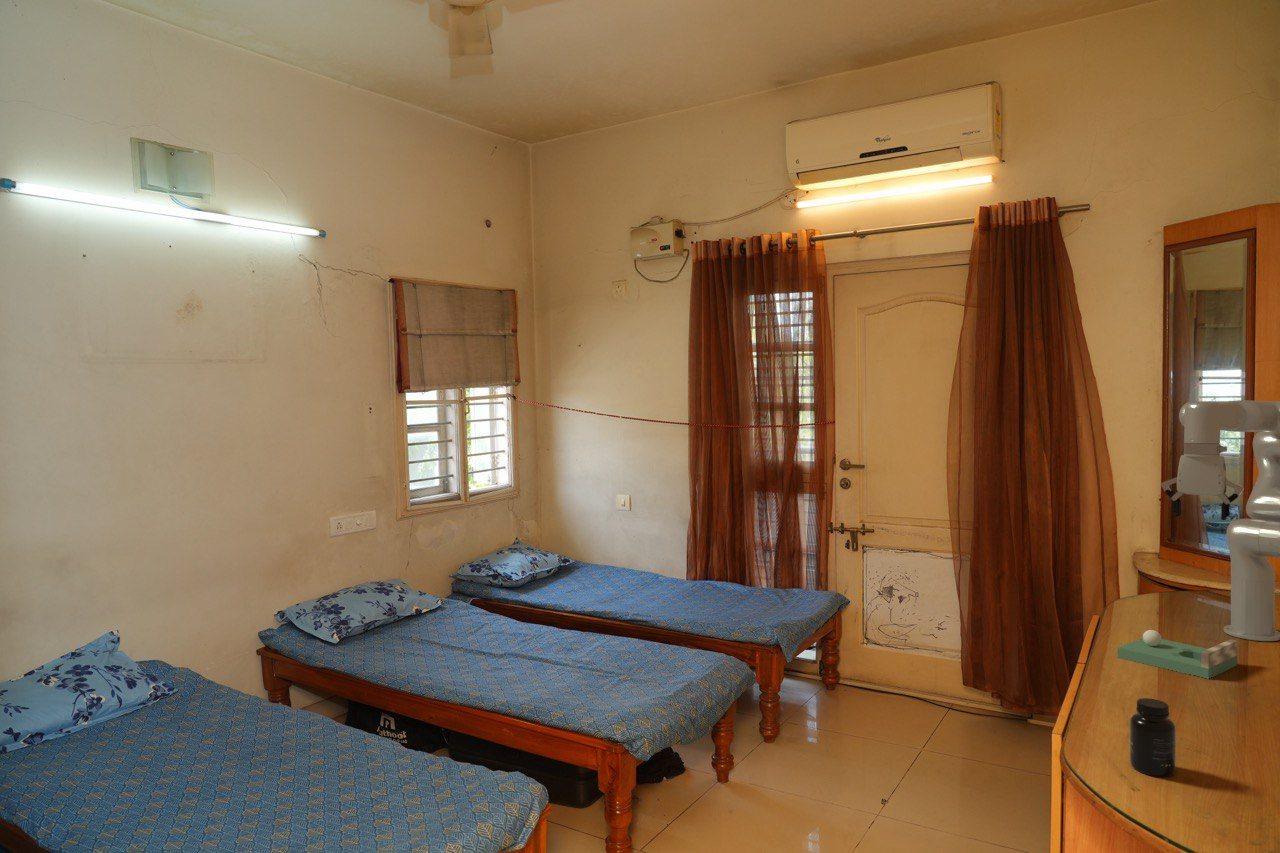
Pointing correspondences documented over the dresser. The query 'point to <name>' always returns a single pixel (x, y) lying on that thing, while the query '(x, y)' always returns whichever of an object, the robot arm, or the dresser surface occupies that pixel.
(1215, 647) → the backboard
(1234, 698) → the dresser surface
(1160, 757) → the supplement bottle
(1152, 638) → the ball
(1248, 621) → the robot arm
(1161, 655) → the putting green
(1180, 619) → the dresser surface
